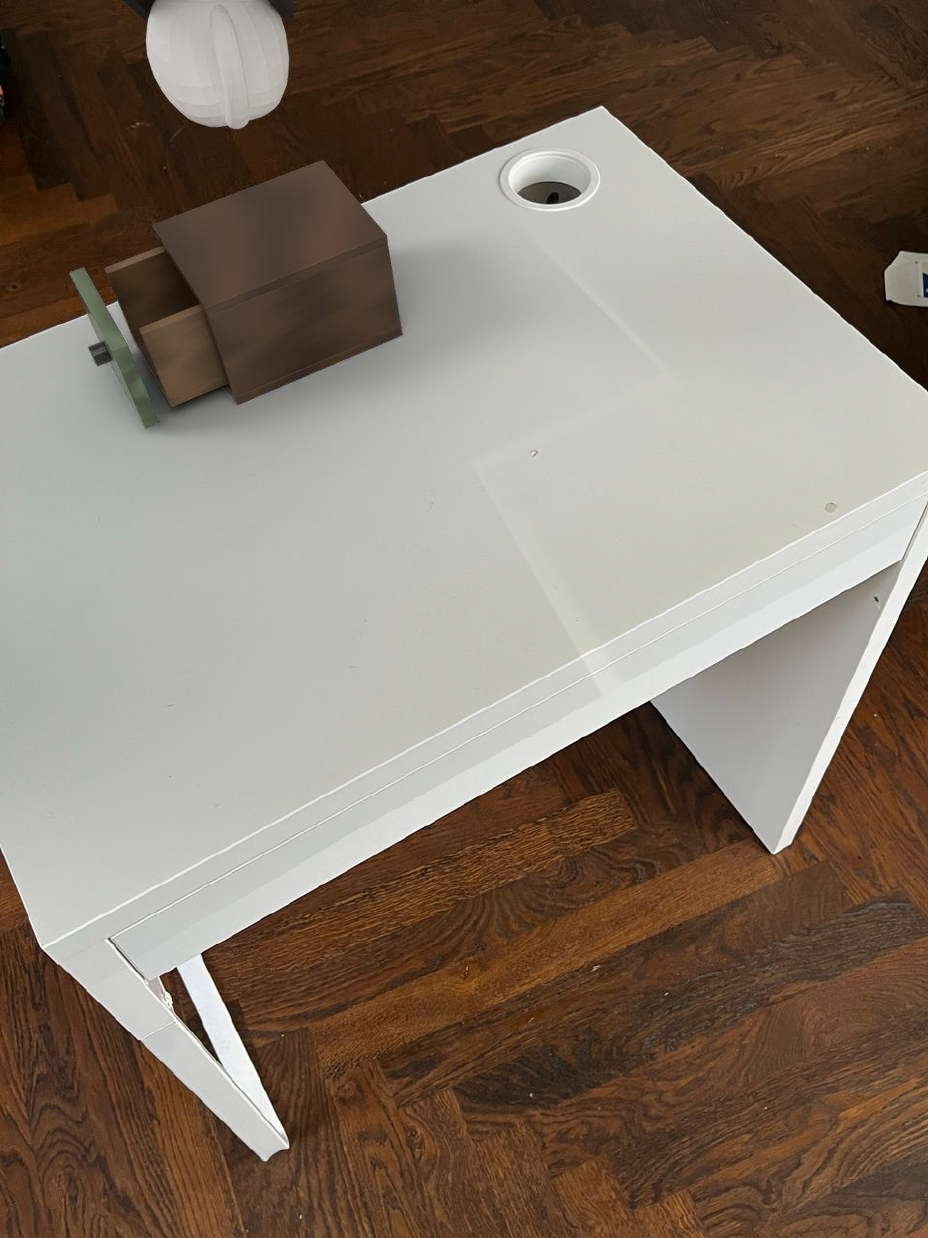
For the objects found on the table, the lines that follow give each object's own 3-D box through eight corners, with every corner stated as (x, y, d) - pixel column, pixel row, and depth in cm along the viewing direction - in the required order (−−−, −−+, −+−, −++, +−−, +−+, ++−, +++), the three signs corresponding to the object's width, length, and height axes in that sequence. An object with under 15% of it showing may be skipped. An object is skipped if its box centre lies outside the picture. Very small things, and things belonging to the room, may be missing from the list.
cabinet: (237, 405, 90) (205, 307, 82) (186, 322, 96) (151, 224, 88) (403, 334, 93) (387, 234, 85) (342, 258, 99) (322, 158, 91)
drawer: (130, 434, 88) (95, 357, 81) (89, 356, 93) (53, 278, 87) (305, 361, 91) (284, 281, 84) (255, 289, 96) (232, 209, 90)
